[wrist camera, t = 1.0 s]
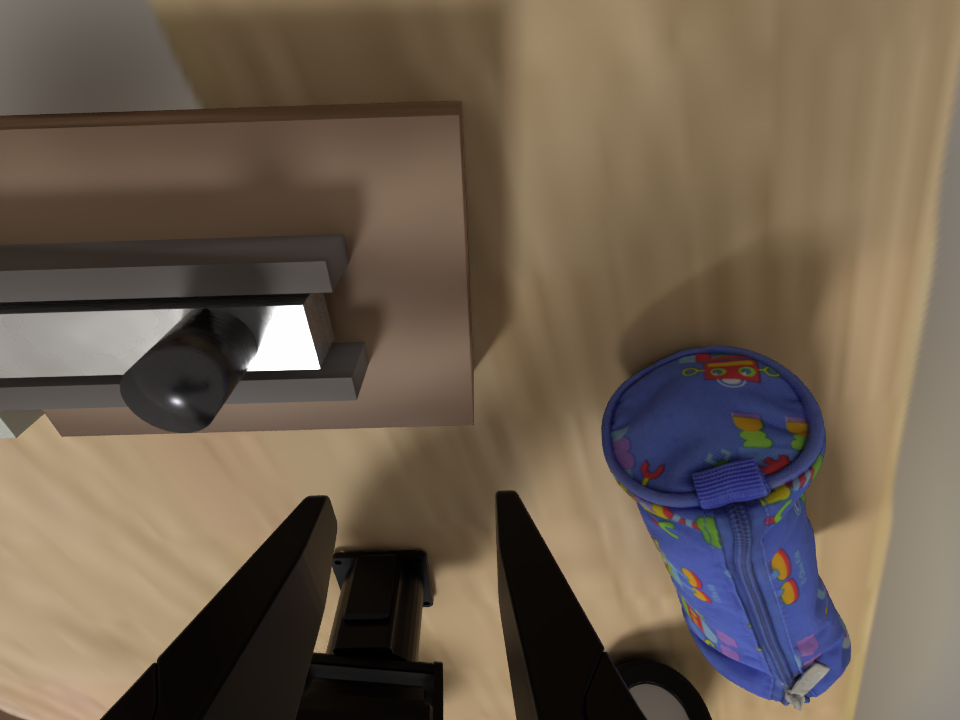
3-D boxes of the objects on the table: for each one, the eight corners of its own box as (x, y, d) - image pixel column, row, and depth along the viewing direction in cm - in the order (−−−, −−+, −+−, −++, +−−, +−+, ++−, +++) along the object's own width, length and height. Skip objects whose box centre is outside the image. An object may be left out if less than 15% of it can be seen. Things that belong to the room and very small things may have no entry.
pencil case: (794, 553, 33) (895, 714, 25) (674, 585, 35) (732, 742, 27) (746, 307, 22) (900, 457, 14) (573, 375, 24) (623, 538, 16)
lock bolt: (320, 277, 16) (267, 360, 12) (334, 337, 17) (291, 430, 13) (-27, 288, 16) (-201, 374, 12) (13, 347, 17) (-129, 442, 13)
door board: (473, 371, 24) (473, 464, 18) (119, 381, 24) (19, 476, 18) (461, 100, 17) (456, 127, 12) (-35, 116, 17) (-260, 150, 12)
